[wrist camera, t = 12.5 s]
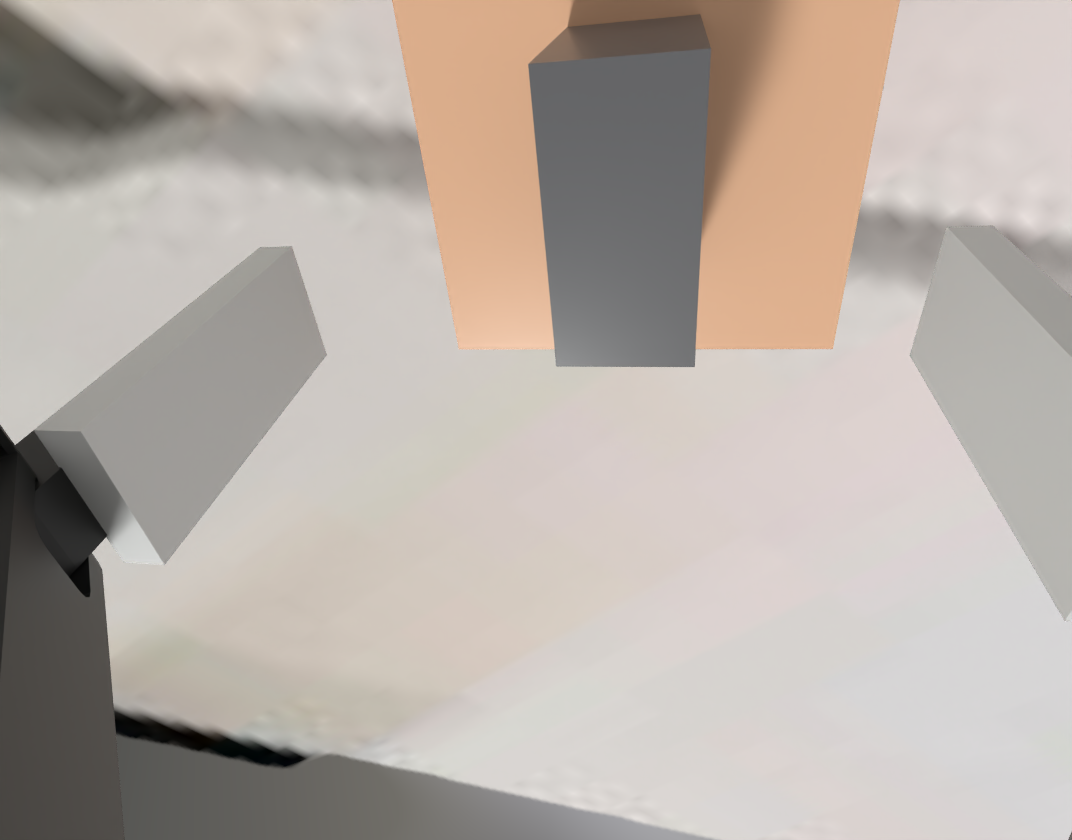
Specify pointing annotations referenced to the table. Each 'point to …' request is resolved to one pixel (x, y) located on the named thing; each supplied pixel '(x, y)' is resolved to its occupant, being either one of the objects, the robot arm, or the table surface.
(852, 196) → the lid
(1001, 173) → the table surface
